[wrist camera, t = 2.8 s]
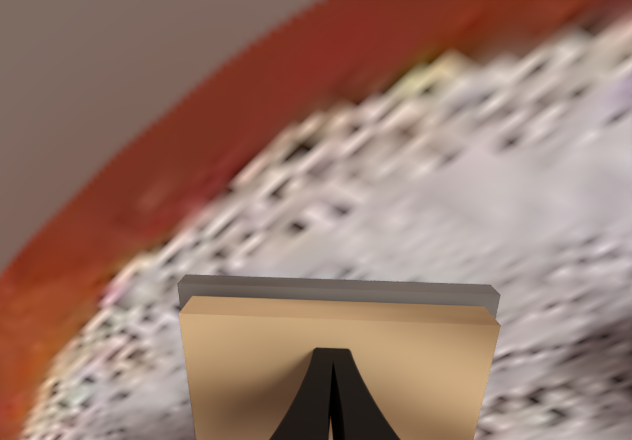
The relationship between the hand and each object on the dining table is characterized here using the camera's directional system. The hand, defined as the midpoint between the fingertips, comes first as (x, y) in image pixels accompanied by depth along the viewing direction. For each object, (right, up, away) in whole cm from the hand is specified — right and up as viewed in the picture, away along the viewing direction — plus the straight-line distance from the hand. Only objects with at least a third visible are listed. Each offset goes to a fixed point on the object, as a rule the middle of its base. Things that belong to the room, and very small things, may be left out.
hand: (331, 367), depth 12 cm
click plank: (0, -2, +2) cm, 3 cm away
